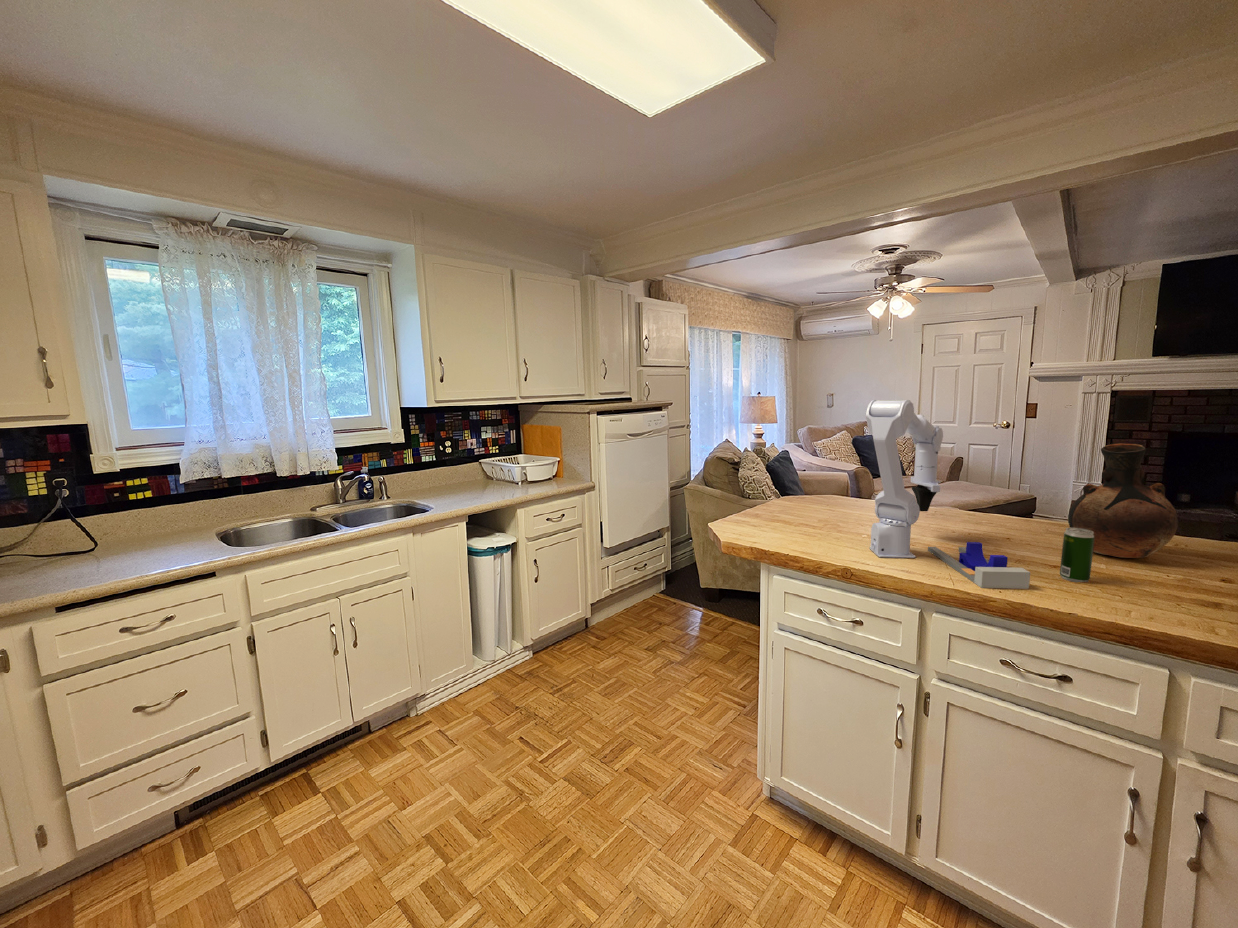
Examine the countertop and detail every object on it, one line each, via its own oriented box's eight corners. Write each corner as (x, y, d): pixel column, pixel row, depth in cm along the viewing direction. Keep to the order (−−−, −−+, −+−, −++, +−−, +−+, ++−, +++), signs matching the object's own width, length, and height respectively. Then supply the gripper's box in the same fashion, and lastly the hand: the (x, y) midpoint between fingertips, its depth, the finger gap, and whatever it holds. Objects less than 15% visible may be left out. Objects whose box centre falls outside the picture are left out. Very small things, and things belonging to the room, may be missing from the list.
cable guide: (981, 587, 117) (982, 571, 116) (927, 550, 143) (928, 537, 143) (1028, 588, 116) (1030, 572, 115) (966, 551, 142) (967, 537, 141)
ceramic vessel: (1156, 551, 137) (1171, 442, 133) (1187, 572, 122) (1205, 450, 118) (1056, 541, 148) (1067, 440, 143) (1073, 560, 132) (1086, 447, 128)
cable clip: (958, 563, 133) (960, 541, 132) (977, 563, 133) (979, 542, 132) (985, 580, 122) (987, 556, 121) (1005, 581, 121) (1007, 557, 120)
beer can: (1078, 584, 117) (1083, 534, 115) (1053, 576, 122) (1058, 528, 121) (1095, 581, 118) (1101, 532, 117) (1070, 573, 124) (1075, 526, 122)
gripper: (953, 469, 141) (949, 517, 143) (929, 462, 155) (926, 505, 157) (925, 470, 142) (923, 516, 144) (904, 462, 156) (902, 505, 158)
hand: (923, 510), depth 151 cm, fingers closed
